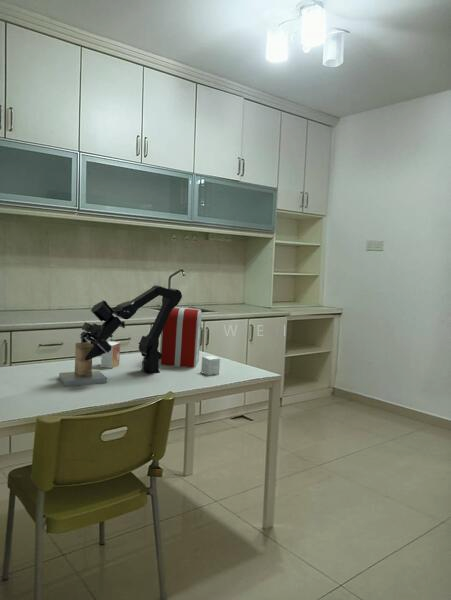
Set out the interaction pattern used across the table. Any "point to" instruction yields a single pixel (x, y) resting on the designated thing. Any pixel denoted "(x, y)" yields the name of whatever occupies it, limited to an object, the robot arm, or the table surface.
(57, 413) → the table surface
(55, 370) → the table surface
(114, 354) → the small box
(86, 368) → the brown block
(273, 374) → the table surface
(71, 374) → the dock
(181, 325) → the red striped box
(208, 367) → the product box
